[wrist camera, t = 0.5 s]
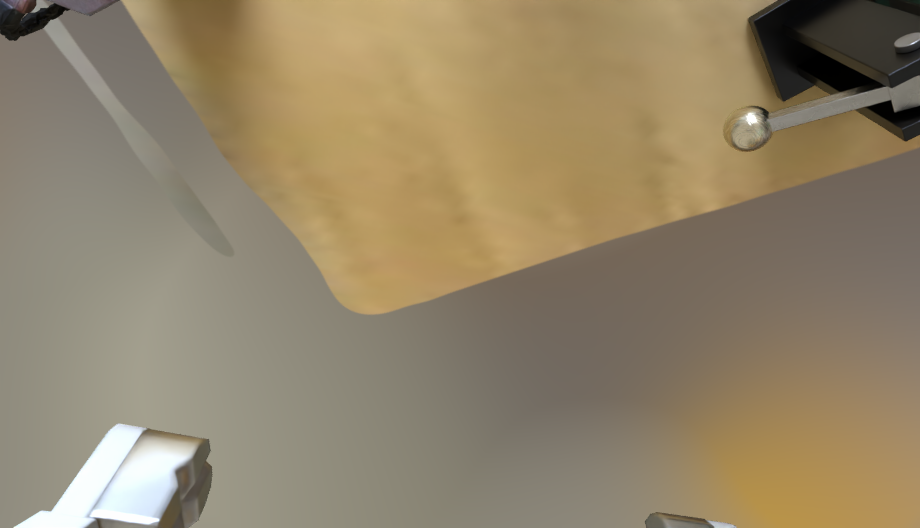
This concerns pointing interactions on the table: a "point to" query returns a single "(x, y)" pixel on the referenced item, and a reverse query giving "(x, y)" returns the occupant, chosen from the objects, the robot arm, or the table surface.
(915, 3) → the toaster
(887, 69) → the lever bracket
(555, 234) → the table surface
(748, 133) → the lever
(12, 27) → the moka pot
